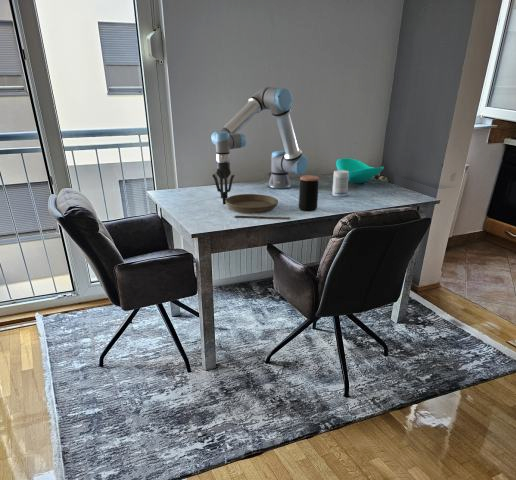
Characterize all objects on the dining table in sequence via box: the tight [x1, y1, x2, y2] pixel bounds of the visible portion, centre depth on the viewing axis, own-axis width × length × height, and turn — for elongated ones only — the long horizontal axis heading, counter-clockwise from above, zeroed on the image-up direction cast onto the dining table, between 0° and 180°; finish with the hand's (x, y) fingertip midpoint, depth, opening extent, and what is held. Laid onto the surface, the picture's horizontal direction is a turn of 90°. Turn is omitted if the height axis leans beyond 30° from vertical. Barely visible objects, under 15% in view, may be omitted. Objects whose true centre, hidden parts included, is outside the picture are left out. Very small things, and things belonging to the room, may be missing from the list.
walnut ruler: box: [234, 215, 290, 220], centre depth 258 cm, size 30×2×1 cm, turn 84°
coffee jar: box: [298, 174, 320, 213], centre depth 269 cm, size 11×11×18 cm
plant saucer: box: [225, 193, 279, 214], centre depth 275 cm, size 31×31×5 cm
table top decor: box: [335, 157, 384, 184], centre depth 331 cm, size 40×28×13 cm
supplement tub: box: [331, 169, 349, 198], centre depth 298 cm, size 10×10×15 cm
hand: (224, 203), depth 276 cm, fingers closed
